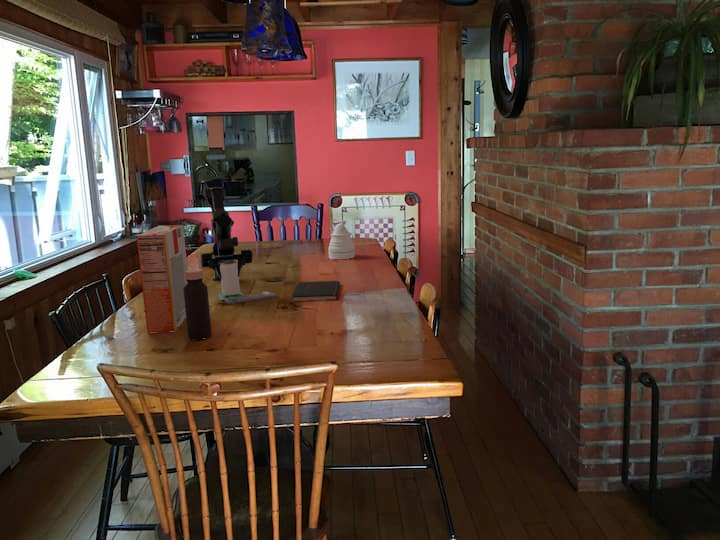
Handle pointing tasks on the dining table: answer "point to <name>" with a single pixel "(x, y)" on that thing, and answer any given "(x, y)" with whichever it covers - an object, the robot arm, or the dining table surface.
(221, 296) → the pad
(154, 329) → the cereal box
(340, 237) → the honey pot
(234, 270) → the can
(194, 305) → the bottle
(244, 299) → the legend board
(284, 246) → the dining table surface
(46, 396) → the dining table surface
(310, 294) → the hardcover book
